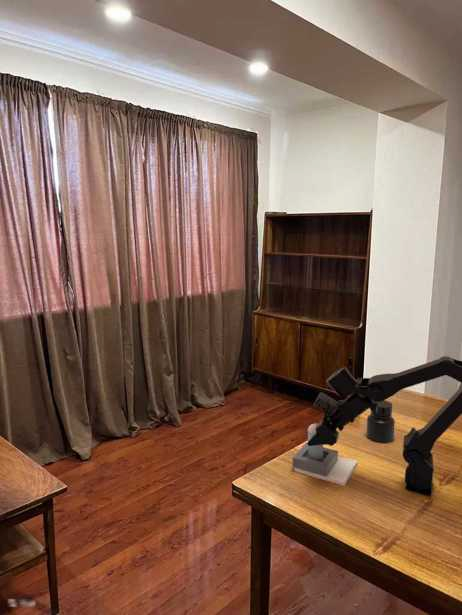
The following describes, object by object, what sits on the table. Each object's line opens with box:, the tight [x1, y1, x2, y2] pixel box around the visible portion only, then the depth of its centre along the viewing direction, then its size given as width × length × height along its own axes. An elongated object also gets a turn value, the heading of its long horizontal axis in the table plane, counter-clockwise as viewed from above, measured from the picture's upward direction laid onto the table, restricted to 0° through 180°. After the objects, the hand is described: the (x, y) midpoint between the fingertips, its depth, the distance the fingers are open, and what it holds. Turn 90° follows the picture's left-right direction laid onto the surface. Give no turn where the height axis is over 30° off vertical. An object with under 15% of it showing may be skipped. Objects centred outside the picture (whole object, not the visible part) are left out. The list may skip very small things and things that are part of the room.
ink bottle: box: [365, 400, 396, 443], centre depth 149 cm, size 10×9×12 cm
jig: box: [292, 442, 358, 487], centre depth 131 cm, size 16×13×4 cm
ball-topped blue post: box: [307, 423, 324, 462], centre depth 131 cm, size 4×4×12 cm
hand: (311, 437), depth 131 cm, fingers open, 9 cm apart
